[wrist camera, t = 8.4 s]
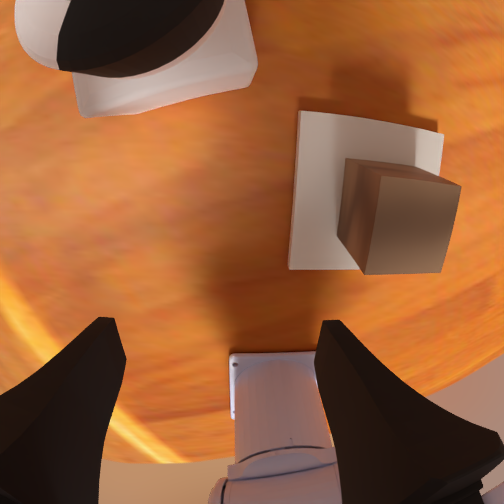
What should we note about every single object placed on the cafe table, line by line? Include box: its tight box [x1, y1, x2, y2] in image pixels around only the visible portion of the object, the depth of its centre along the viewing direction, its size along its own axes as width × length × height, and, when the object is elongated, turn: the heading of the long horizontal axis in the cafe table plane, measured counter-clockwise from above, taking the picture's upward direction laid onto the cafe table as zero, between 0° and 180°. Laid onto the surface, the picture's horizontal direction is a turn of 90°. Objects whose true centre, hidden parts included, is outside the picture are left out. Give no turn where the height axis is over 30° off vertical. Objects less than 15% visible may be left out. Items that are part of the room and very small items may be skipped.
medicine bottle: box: [15, 0, 258, 118], centre depth 9 cm, size 7×7×12 cm
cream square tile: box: [288, 111, 444, 270], centre depth 19 cm, size 10×10×1 cm
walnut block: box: [337, 158, 461, 275], centre depth 16 cm, size 5×5×5 cm
